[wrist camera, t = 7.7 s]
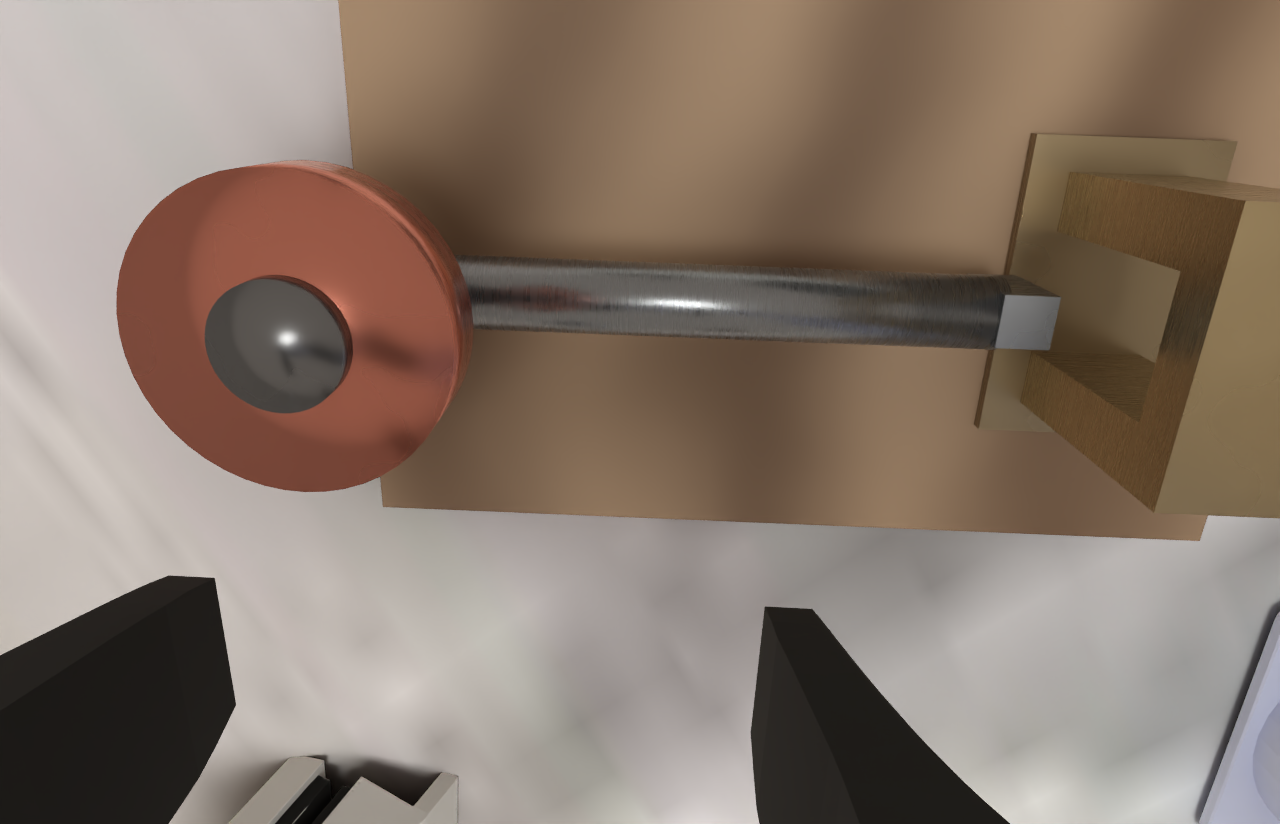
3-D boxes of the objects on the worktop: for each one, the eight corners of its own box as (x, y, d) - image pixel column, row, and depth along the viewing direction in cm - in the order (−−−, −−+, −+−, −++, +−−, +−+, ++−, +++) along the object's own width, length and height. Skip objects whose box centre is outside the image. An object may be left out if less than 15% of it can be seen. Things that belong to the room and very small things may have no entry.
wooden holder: (1227, 140, 16) (1492, 158, 11) (1146, 431, 19) (1335, 557, 14) (1030, 133, 17) (1202, 147, 11) (973, 424, 19) (1094, 548, 14)
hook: (1036, 172, 16) (1213, 205, 11) (987, 412, 18) (1121, 537, 12) (253, 143, 16) (64, 162, 11) (284, 384, 18) (135, 496, 13)
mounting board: (1343, -5, 16) (1375, -10, 15) (1179, 524, 20) (1199, 540, 20) (349, -40, 16) (334, -47, 16) (392, 492, 21) (382, 507, 20)
